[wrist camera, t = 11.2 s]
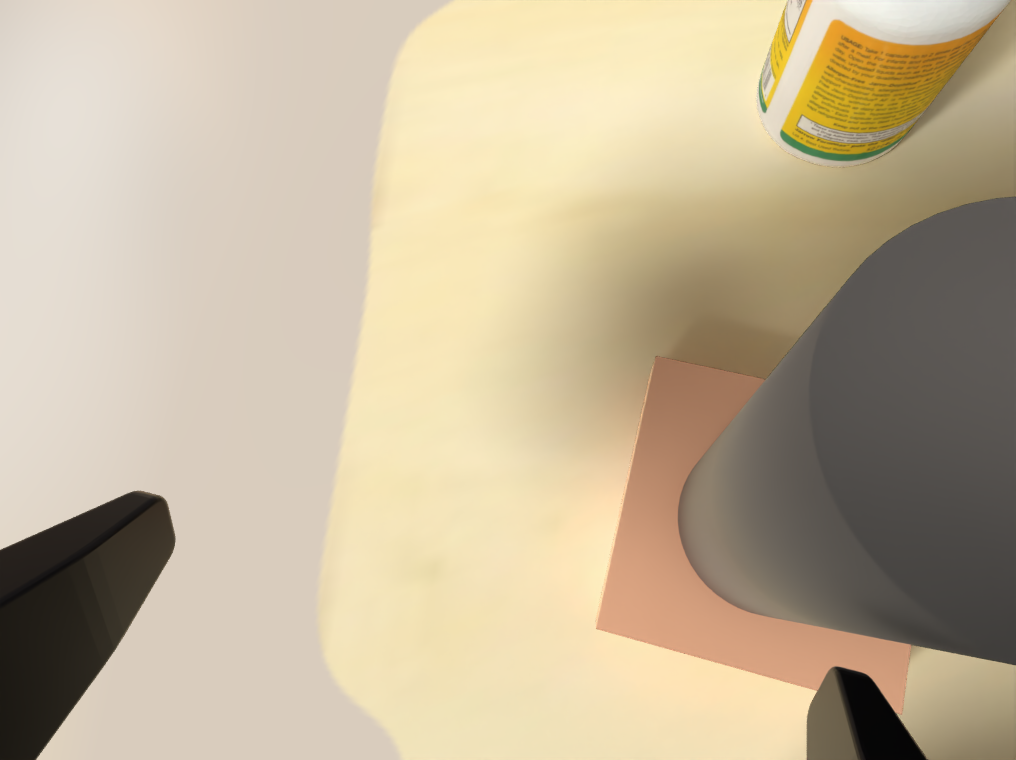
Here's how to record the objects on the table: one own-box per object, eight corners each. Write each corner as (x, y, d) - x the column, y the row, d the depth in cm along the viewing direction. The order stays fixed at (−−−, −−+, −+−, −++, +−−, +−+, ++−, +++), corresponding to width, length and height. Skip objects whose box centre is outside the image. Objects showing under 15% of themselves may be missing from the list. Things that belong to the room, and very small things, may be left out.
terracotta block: (859, 692, 21) (901, 714, 18) (595, 619, 22) (596, 628, 20) (896, 433, 23) (941, 416, 20) (648, 379, 24) (656, 356, 21)
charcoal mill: (831, 650, 19) (1305, 786, 6) (650, 568, 20) (741, 541, 7) (890, 475, 20) (1398, 287, 7) (715, 406, 21) (889, 140, 8)
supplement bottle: (725, 81, 26) (801, -183, 16) (857, 15, 26) (1006, -285, 17) (806, 200, 24) (938, -16, 15) (945, 130, 24) (1162, -129, 15)
